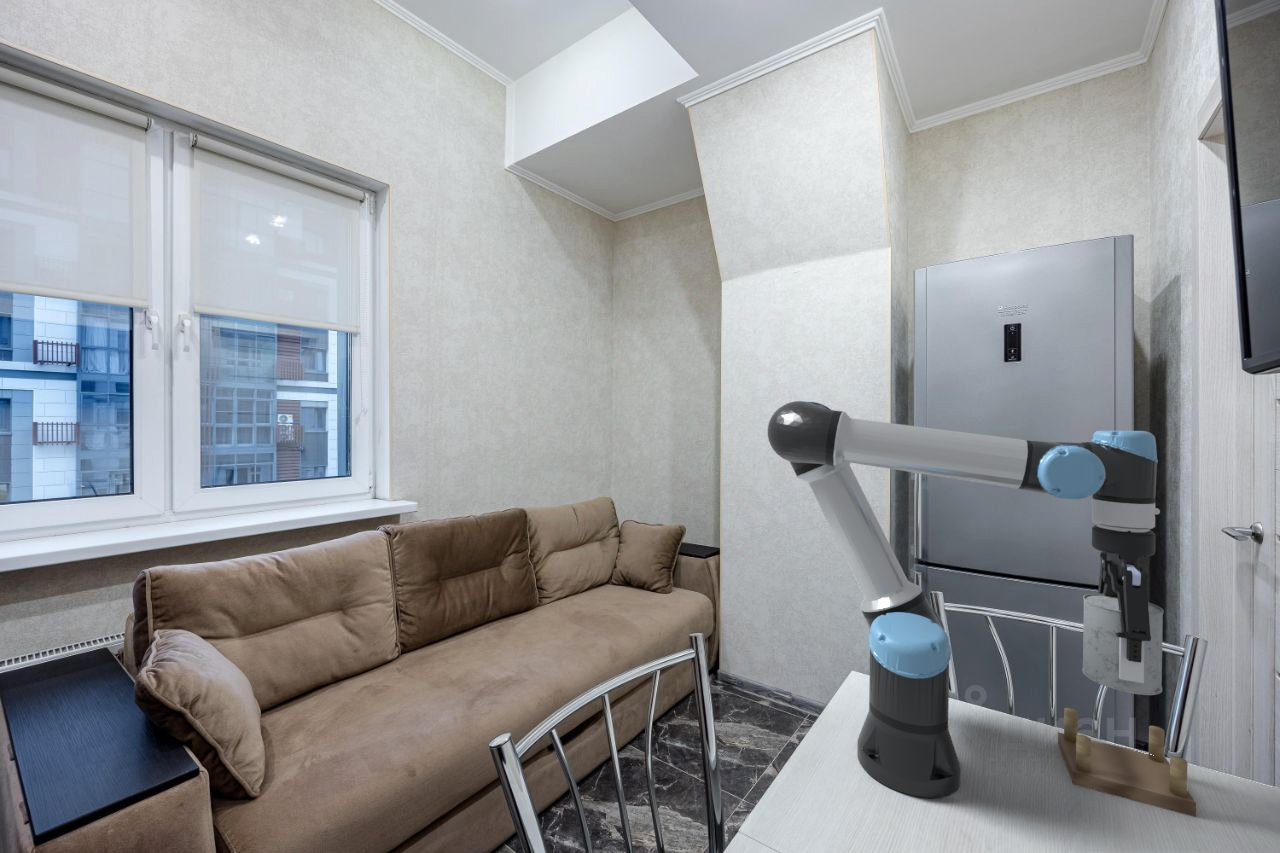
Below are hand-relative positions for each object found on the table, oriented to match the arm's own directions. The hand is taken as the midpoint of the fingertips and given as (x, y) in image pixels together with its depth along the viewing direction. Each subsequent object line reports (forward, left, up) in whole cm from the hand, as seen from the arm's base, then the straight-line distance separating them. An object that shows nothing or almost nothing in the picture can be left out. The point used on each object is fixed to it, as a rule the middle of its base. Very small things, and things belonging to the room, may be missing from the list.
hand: (1120, 666), depth 85 cm
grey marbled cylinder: (0, 0, -2) cm, 2 cm away
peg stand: (0, 0, -18) cm, 18 cm away
